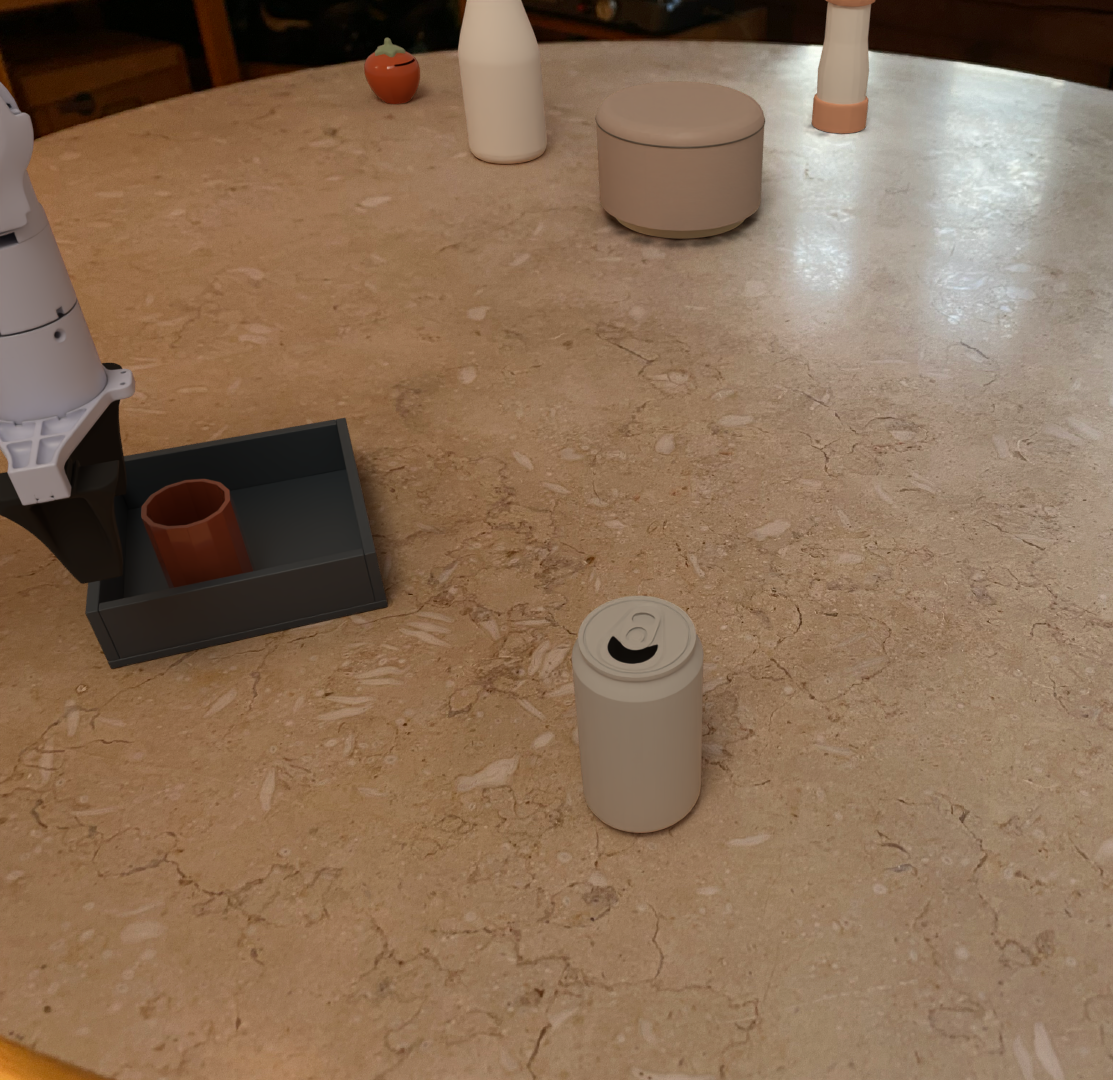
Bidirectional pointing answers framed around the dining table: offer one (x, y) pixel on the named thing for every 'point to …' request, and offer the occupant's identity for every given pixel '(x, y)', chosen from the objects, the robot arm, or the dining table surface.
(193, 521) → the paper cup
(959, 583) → the dining table surface
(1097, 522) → the dining table surface
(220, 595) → the bin
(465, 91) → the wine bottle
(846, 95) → the pepper shaker
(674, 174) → the container
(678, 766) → the beverage can
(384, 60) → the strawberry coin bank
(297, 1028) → the dining table surface
